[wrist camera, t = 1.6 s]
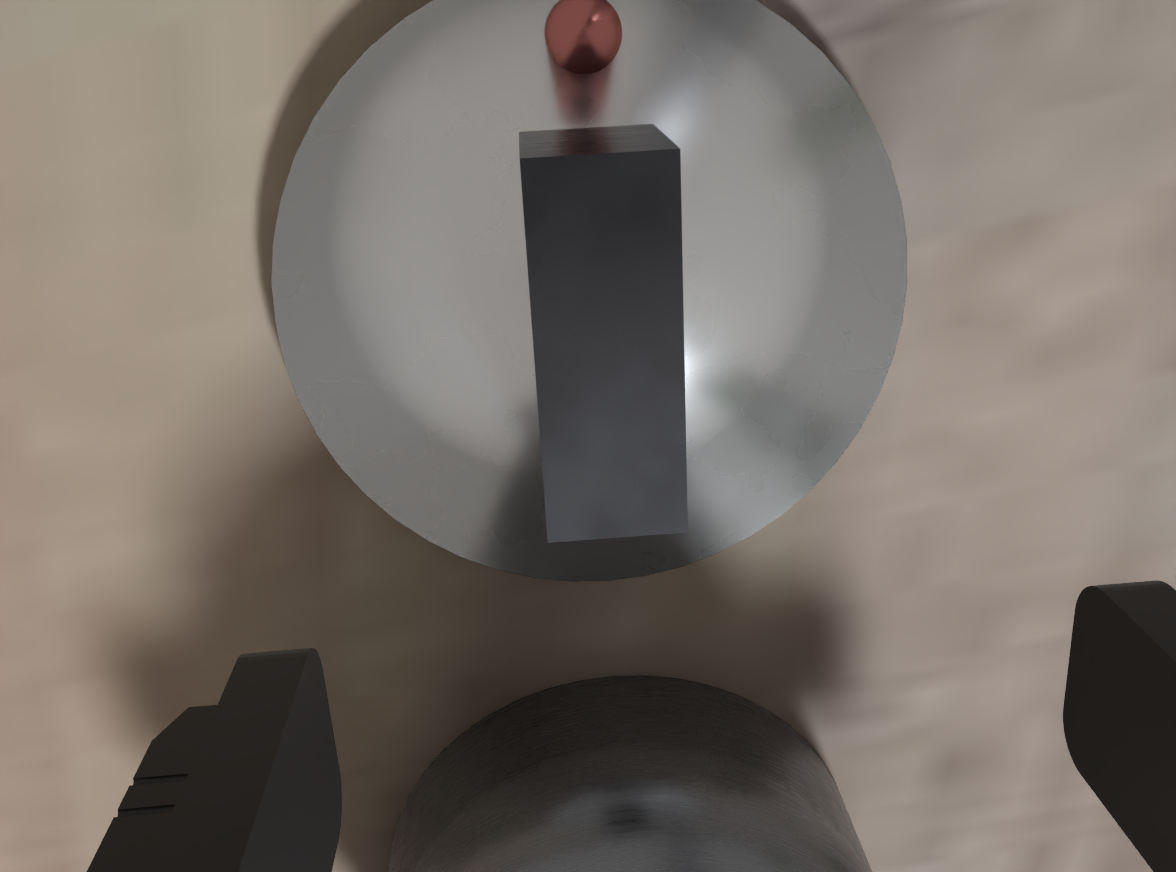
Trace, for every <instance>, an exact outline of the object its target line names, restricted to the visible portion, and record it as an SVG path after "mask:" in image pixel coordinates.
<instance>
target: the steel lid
mask: <svg viewBox="0 0 1176 872" xmlns="http://www.w3.org/2000/svg"><path fill="white" fill-rule="evenodd" d="M271 283H272V293H273V304H274V315H275V324H276V328H277V333H278V337H279V341H280V346H281V350H282V354H283V359H284V363H285V366H286V368H287V371H288V374H289V376H290V379H291V381H292V384H293V387H294V389H295V392H296V395H297V397H298V400H299V402H300V404H301V406H302V408H303V409H304V411H305V413H306V415H307V417H308V419H309V421H310V423H311V424H312V426H313V428H314V430H315V432H316V434H317V436H318V437H319V438H320V440H321V441H322V442H323V444H324V445H325V447H326V448H327V449H328V451H329V452H330V454H331V455H332V456H333V458H334V459H335V461H336V462H337V463H338V465H339V466H340V468H341V469H342V470H343V471H344V472H345V473H346V474H347V475H348V476H349V477H350V478H351V479H352V480H353V482H354V483H355V484H356V485H357V486H358V487H359V488H360V489H361V490H362V491H363V492H364V493H365V494H366V495H367V496H368V497H369V498H370V499H371V500H372V501H374V502H375V503H376V504H377V505H378V506H380V507H381V508H382V509H383V510H384V511H386V512H387V513H388V514H389V515H390V516H392V517H393V518H394V519H395V520H396V521H398V522H400V523H401V524H403V525H404V526H406V527H407V528H409V529H410V530H412V531H414V532H415V533H417V534H418V535H420V536H421V537H423V538H424V539H426V540H427V541H429V542H431V543H433V544H436V545H438V546H440V547H442V548H444V549H446V550H448V551H450V552H452V553H454V554H456V555H458V556H460V557H462V558H465V559H468V560H471V561H474V562H477V563H480V564H483V565H486V566H488V567H491V568H494V569H497V570H501V571H506V572H511V573H515V574H520V575H524V576H529V577H534V578H543V579H553V580H563V581H610V580H617V579H625V578H632V577H640V576H647V575H650V574H654V573H658V572H662V571H666V570H670V569H674V568H678V567H682V566H685V565H687V564H690V563H693V562H695V561H698V560H701V559H703V558H706V557H708V556H711V555H714V554H716V553H719V552H721V551H722V550H724V549H726V548H728V547H730V546H732V545H734V544H736V543H738V542H740V541H742V540H744V539H746V538H748V537H749V536H751V535H753V534H754V533H756V532H757V531H759V530H760V529H762V528H763V527H765V526H766V525H768V524H769V523H771V522H772V521H774V520H775V519H776V518H778V517H779V516H781V515H782V514H784V513H785V512H786V511H787V510H788V509H789V508H791V507H792V506H793V505H794V504H795V503H796V502H797V501H799V500H800V499H801V498H802V497H803V496H804V495H806V494H807V493H808V492H809V491H810V490H811V489H812V488H813V487H814V486H815V485H816V484H817V483H818V482H819V481H820V480H821V478H822V477H823V476H824V475H825V474H826V473H827V472H828V471H829V470H830V469H831V468H832V466H833V465H834V464H835V463H836V462H837V461H838V459H839V458H840V457H841V455H842V454H843V453H844V451H845V450H846V448H847V447H848V446H849V444H850V443H851V441H852V440H853V439H854V437H855V436H856V434H857V433H858V432H859V430H860V428H861V427H862V425H863V423H864V421H865V419H866V417H867V416H868V414H869V412H870V410H871V408H872V406H873V405H874V403H875V401H876V399H877V397H878V395H879V393H880V390H881V388H882V385H883V383H884V380H885V378H886V375H887V373H888V370H889V368H890V365H891V362H892V360H893V356H894V352H895V348H896V345H897V341H898V337H899V333H900V329H901V325H902V321H903V313H904V305H905V297H906V289H907V237H906V230H905V223H904V216H903V209H902V202H901V198H900V194H899V191H898V187H897V184H896V180H895V177H894V173H893V170H892V166H891V163H890V160H889V157H888V155H887V153H886V151H885V148H884V146H883V144H882V141H881V139H880V137H879V135H878V132H877V130H876V128H875V126H874V123H873V121H872V120H871V118H870V116H869V115H868V113H867V112H866V110H865V108H864V107H863V105H862V103H861V102H860V100H859V99H858V97H857V95H856V94H855V92H854V91H853V89H852V87H851V86H850V85H849V83H848V82H847V81H846V80H845V79H844V77H843V76H842V75H841V74H840V73H839V71H838V70H837V69H836V68H835V67H834V65H833V64H832V63H831V62H830V61H829V59H828V58H827V57H826V56H825V55H824V53H823V52H822V51H821V50H819V49H818V48H817V47H816V46H815V45H814V44H813V43H812V42H811V41H810V40H808V39H807V38H806V37H805V36H804V35H803V34H802V33H801V32H800V31H798V30H797V29H796V28H795V27H794V26H793V25H792V24H791V23H789V22H788V21H786V20H785V19H783V18H782V17H780V16H779V15H777V14H776V13H774V12H773V11H771V10H770V9H768V8H767V7H765V6H764V5H763V4H761V3H760V2H758V1H757V0H433V1H431V2H429V3H428V4H426V5H424V6H423V7H421V8H420V9H418V10H416V11H415V12H413V13H411V14H410V15H408V16H407V17H405V18H404V19H402V20H401V21H400V22H399V23H398V24H396V25H395V26H394V27H393V28H392V29H390V30H389V31H388V32H387V33H386V34H384V35H383V36H382V37H381V38H380V39H378V40H377V41H376V42H375V43H374V44H372V45H371V46H370V47H369V48H368V49H367V50H366V51H365V52H364V53H363V55H362V56H361V57H360V58H359V59H358V60H357V61H356V62H355V63H354V64H353V66H352V67H351V68H350V69H349V70H348V71H347V72H346V73H345V74H344V76H343V77H342V78H341V79H340V80H339V81H338V83H337V84H336V86H335V87H334V89H333V90H332V91H331V93H330V94H329V96H328V97H327V99H326V100H325V102H324V103H323V105H322V106H321V108H320V109H319V111H318V112H317V114H316V115H315V117H314V118H313V120H312V122H311V124H310V126H309V128H308V130H307V132H306V134H305V136H304V139H303V141H302V143H301V145H300V147H299V149H298V151H297V153H296V155H295V157H294V160H293V163H292V166H291V169H290V172H289V175H288V178H287V181H286V184H285V187H284V190H283V193H282V196H281V200H280V206H279V211H278V217H277V222H276V228H275V233H274V239H273V257H272V281H271Z"/></svg>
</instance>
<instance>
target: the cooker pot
mask: <svg viewBox="0 0 1176 872" xmlns="http://www.w3.org/2000/svg"><path fill="white" fill-rule="evenodd" d="M388 872H872V870H871V868H870V866H869V863H868V861H867V858H866V856H865V853H864V851H863V849H862V846H861V844H860V841H859V839H858V836H857V834H856V831H855V829H854V827H853V824H852V822H851V819H850V817H849V814H848V812H847V810H846V807H845V805H844V802H843V800H842V797H841V795H840V792H839V790H838V788H837V785H836V783H835V781H834V779H833V778H832V776H831V774H830V773H829V771H828V769H827V767H826V766H825V764H824V762H823V761H822V760H821V758H820V757H819V756H818V755H817V754H816V752H815V751H814V750H813V749H812V748H811V746H810V745H809V744H808V743H807V742H806V741H805V740H804V739H803V738H802V737H801V736H800V735H799V734H798V733H797V732H795V731H794V730H793V729H792V728H791V727H790V726H789V725H788V724H786V723H785V722H784V721H782V720H780V719H779V718H777V717H776V716H774V715H773V714H771V713H770V712H768V711H767V710H765V709H764V708H762V707H760V706H758V705H756V704H754V703H752V702H750V701H748V700H746V699H744V698H742V697H740V696H738V695H735V694H732V693H729V692H726V691H723V690H720V689H717V688H714V687H711V686H708V685H704V684H699V683H695V682H690V681H685V680H680V679H673V678H662V677H651V676H623V677H607V678H599V679H592V680H585V681H579V682H575V683H571V684H567V685H563V686H559V687H555V688H551V689H547V690H545V691H542V692H539V693H537V694H534V695H531V696H529V697H526V698H523V699H521V700H518V701H516V702H514V703H512V704H510V705H508V706H506V707H504V708H502V709H500V710H498V711H497V712H495V713H493V714H491V715H489V716H488V717H486V718H485V719H483V720H482V721H480V722H479V723H477V724H476V725H474V726H473V727H471V728H470V729H468V730H467V731H465V732H464V733H463V734H462V735H461V736H460V737H458V738H457V739H456V740H455V741H454V742H453V743H452V744H450V745H449V746H448V747H447V748H446V749H445V750H444V751H443V752H442V753H441V754H440V755H439V756H438V757H437V758H436V760H435V761H434V762H433V763H432V764H431V765H430V766H429V768H428V769H427V770H426V771H425V772H424V774H423V775H422V777H421V778H420V780H419V781H418V783H417V784H416V786H415V787H414V789H413V791H412V792H411V794H410V795H409V797H408V799H407V802H406V804H405V806H404V808H403V810H402V813H401V815H400V817H399V819H398V823H397V827H396V830H395V834H394V838H393V841H392V846H391V853H390V860H389V867H388Z"/></svg>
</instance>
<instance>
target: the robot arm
mask: <svg viewBox="0 0 1176 872" xmlns="http://www.w3.org/2000/svg"><path fill="white" fill-rule="evenodd" d="M1063 724H1064V732H1065V738H1066V742H1067V746H1068V749H1069V752H1070V755H1071V757H1072V760H1073V762H1074V764H1075V766H1076V768H1077V769H1078V771H1079V772H1080V774H1081V775H1082V777H1083V778H1084V779H1085V781H1086V782H1087V783H1088V785H1089V786H1090V787H1091V789H1092V790H1093V791H1094V793H1095V794H1096V795H1097V797H1098V798H1099V799H1100V801H1101V802H1102V803H1103V805H1104V806H1105V807H1106V809H1107V810H1108V811H1109V813H1110V814H1111V815H1112V817H1113V818H1114V819H1115V821H1116V822H1117V823H1118V825H1119V826H1120V827H1121V829H1122V830H1123V831H1124V833H1125V834H1126V835H1127V837H1128V838H1129V839H1130V841H1131V842H1132V843H1133V845H1134V846H1135V848H1136V849H1137V850H1138V852H1139V853H1140V854H1141V856H1142V857H1143V858H1144V860H1145V861H1146V862H1147V864H1148V865H1149V866H1150V868H1151V869H1152V870H1153V872H1176V590H1174V589H1173V588H1172V587H1171V586H1170V585H1168V584H1167V583H1165V582H1162V581H1146V582H1134V583H1122V584H1109V585H1097V586H1089V587H1086V588H1085V589H1083V591H1082V592H1081V593H1080V595H1079V597H1078V600H1077V603H1076V608H1075V615H1074V623H1073V632H1072V640H1071V649H1070V657H1069V666H1068V674H1067V683H1066V691H1065V700H1064V709H1063ZM133 779H134V784H133V786H129V788H128V790H127V792H126V794H125V796H124V798H123V800H122V802H121V804H120V806H119V808H118V817H114V818H113V820H112V822H111V824H110V826H109V828H108V830H107V832H106V834H105V836H104V838H103V840H102V842H101V844H100V846H99V848H98V850H97V852H96V854H95V856H94V858H93V860H92V862H91V864H90V866H89V868H88V870H87V872H332V867H333V863H334V858H335V853H336V848H337V844H338V839H339V833H340V826H341V811H342V794H341V779H340V771H339V764H338V758H337V752H336V746H335V740H334V734H333V728H332V722H331V716H330V710H329V704H328V698H327V692H326V686H325V680H324V674H323V669H322V664H321V660H320V657H319V654H318V652H317V651H316V650H315V649H314V648H309V649H296V650H284V651H272V652H260V653H248V654H242V655H240V657H239V658H238V660H237V661H236V664H235V666H234V668H233V671H232V673H231V675H230V678H229V680H228V682H227V685H226V687H225V689H224V692H223V694H222V696H221V699H220V701H219V703H218V705H212V706H200V707H189V708H187V709H186V710H185V711H184V712H183V713H182V714H181V715H180V716H179V717H178V718H177V719H175V720H174V721H173V722H172V723H171V724H170V725H169V726H168V727H167V728H166V729H164V730H163V731H162V732H161V733H160V734H159V735H158V736H157V737H156V738H155V739H154V740H152V742H151V744H150V746H149V748H148V750H147V752H146V754H145V756H144V758H143V760H142V762H141V764H140V766H139V768H138V770H137V772H136V774H135V776H134V778H133Z"/></svg>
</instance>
